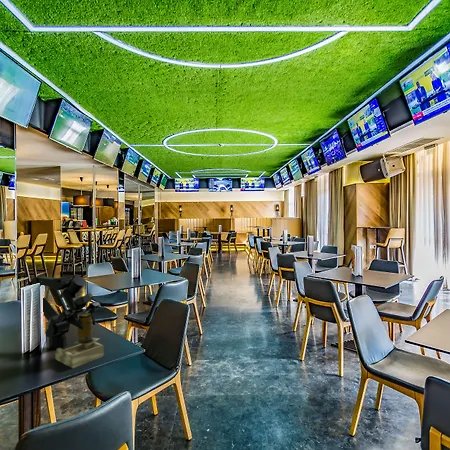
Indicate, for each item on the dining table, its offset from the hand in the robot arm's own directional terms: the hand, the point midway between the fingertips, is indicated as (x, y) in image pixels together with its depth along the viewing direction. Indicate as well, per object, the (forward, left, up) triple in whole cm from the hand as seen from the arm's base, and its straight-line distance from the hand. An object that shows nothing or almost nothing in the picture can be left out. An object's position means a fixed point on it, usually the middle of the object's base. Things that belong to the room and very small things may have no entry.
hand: (88, 326), depth 138 cm
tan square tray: (-3, -2, -13) cm, 14 cm away
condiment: (-1, +1, -7) cm, 7 cm away
